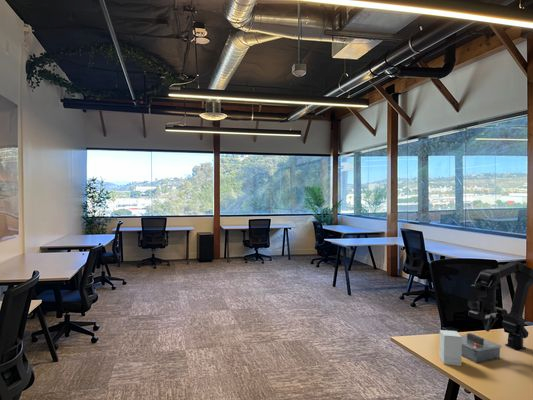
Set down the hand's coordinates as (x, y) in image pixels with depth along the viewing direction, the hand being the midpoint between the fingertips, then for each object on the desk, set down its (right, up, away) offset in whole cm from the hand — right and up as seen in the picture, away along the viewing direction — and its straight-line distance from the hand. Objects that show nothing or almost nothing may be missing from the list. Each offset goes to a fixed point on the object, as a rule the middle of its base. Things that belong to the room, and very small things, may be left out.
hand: (487, 331), depth 172 cm
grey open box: (-8, -10, -3) cm, 13 cm away
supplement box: (-23, -10, -10) cm, 27 cm away
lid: (-7, -5, -3) cm, 9 cm away
